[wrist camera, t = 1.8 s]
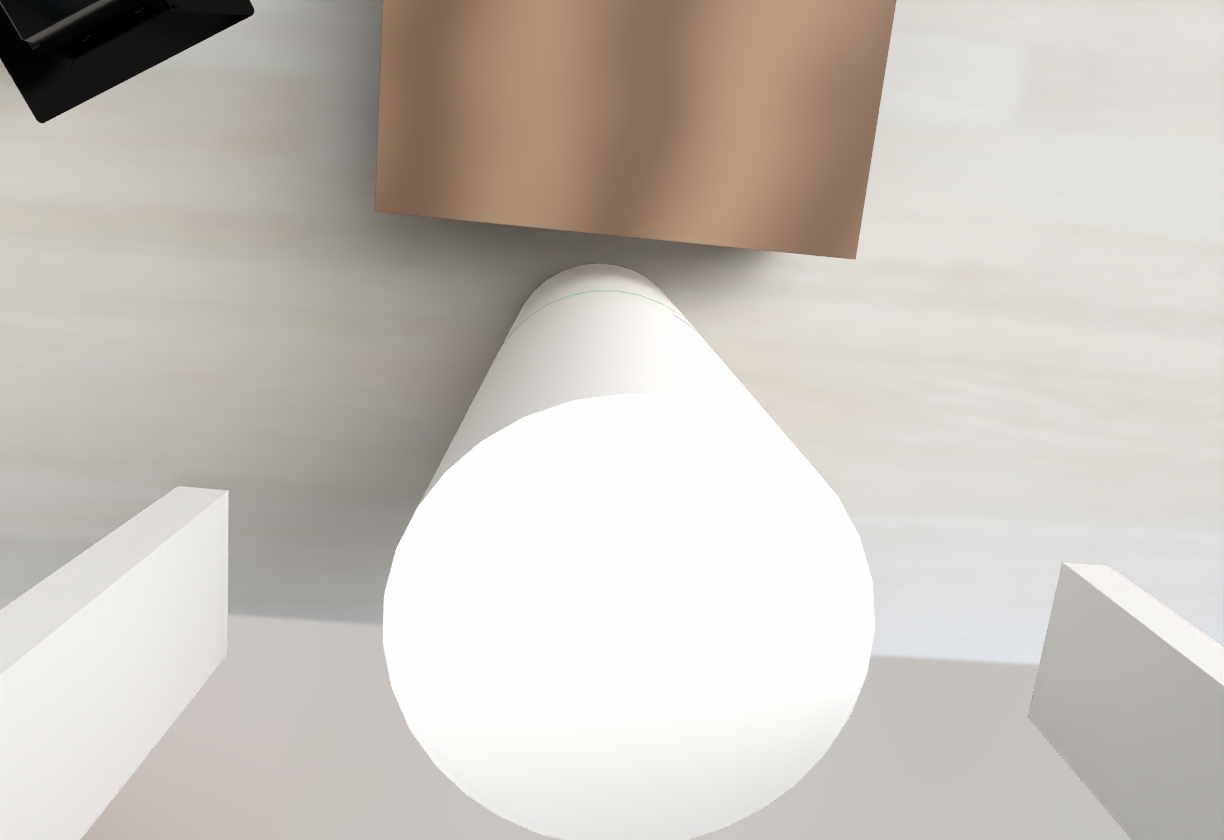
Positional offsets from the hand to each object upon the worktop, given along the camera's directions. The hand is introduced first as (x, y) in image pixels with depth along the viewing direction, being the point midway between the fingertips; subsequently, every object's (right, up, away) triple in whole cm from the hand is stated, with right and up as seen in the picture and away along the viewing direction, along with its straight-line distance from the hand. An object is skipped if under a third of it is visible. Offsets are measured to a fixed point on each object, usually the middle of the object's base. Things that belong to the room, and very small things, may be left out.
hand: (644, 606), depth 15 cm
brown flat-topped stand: (0, +16, +21) cm, 26 cm away
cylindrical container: (-1, +6, +23) cm, 24 cm away
